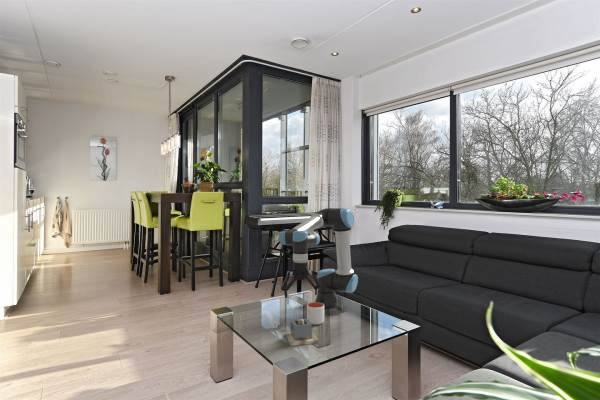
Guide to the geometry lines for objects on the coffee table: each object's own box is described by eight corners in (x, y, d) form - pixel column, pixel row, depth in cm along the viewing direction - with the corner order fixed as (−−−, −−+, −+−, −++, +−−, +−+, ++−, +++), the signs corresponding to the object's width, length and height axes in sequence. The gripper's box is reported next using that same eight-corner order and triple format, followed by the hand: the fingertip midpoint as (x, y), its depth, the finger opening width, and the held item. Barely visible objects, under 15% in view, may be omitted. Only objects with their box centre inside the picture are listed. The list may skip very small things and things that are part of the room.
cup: (323, 326, 197) (323, 308, 197) (305, 325, 199) (305, 307, 199) (325, 319, 207) (325, 302, 207) (308, 318, 209) (308, 301, 209)
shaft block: (310, 331, 189) (310, 314, 189) (318, 342, 176) (318, 323, 175) (284, 334, 186) (284, 316, 186) (290, 346, 172) (290, 326, 172)
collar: (307, 331, 186) (307, 318, 186) (311, 338, 177) (311, 324, 177) (290, 333, 184) (290, 320, 184) (294, 340, 175) (294, 326, 175)
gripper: (321, 258, 186) (322, 298, 187) (274, 261, 180) (275, 302, 181) (326, 261, 179) (326, 302, 180) (277, 264, 173) (277, 307, 174)
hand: (300, 302), depth 180 cm, fingers open, 13 cm apart
